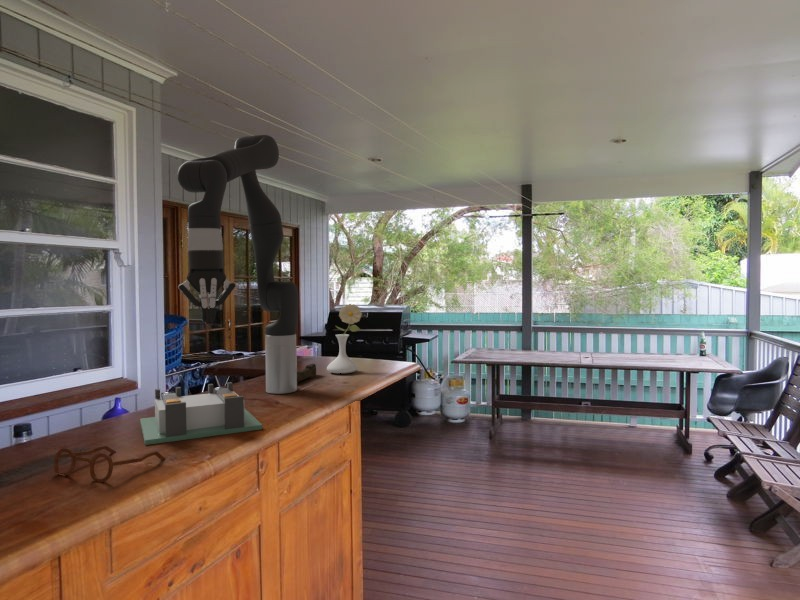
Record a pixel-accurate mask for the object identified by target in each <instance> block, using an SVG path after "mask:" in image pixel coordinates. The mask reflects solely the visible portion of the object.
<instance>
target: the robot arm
mask: <svg viewBox="0 0 800 600" xmlns="http://www.w3.org/2000/svg"><path fill="white" fill-rule="evenodd" d="M279 158H280V150H279V147H278V144H277V142H276V139H275V138H273V136H271V135H268V134H256V135H247V136H246V135H245V136H241V137H237V138H236V140H235V142H234V148H233V149H227V150H223V151H220V152H218V153H215V154H213V155H211V156H207V157H200V158H195V159H191V160H187V161H185V162H183V163H182V164H181V165H180V166H179V167H178V171H177V175H176V176H177V177H176V178H177V182H178V184H179V185H180V186H181V188H182V189H183V190H185V191H186V192H189V193H196V194H197V193H204V195H203V197H202V198H201V200H199V201H196V202H192V203H191V204H189V205H188V207H187V224H188V225H187V227H188V230H187V231H188V232H187V253H188V255H187V256H188V257H187V258H188V274H187V276H186V280H185V281H183V282H182V283H180V284H178V286H177V288H178V290H179V291H180V292H181V293H182V294H183V295H184V297H186V299H188V301H189V302H190V303H191V304H192V305H193V306H195V307H199V308H200V313H201V315H200V316H201V321H202V322H203V323H204V324H205V325H213V322H215V321H216V307H218V306H220V305H223V304H224V302H226V300H227V298H228V297H229V296H230V294H231V293H232V292H233V290H234V289H235V288H236V284H235V282H231V281H230V280H229V279H227V275H226V273H225V270H224V269H225V268H224V244H223V235H222V230H221V229H222V228H221V227H222V226H221V225H222V223H221V222H222V221H221V210H222V205H223V200H224V197H225V193H226V192H225V191H226V188H227V183H229V182H231V181H233V180H235V179H237V178H240V182H241V185H242V190H243V194H244V199H245V206H246V210H247V211H246V212H247V219H248V227H249V231H250V237H251V243H252V247H253V253H254V254H253V255H254V260H255V262H254V263H255V268H256V269H255V272H256V284H257V285H256V288H257V296H258V300H259V305H260V308H262V310H263V311H265V312H269V313H274V312H275V313H279V316H278V319H276V320H275V321H274V322H272V323H269V324H267V325H266V326H265V328H264V340H265V341H264V343H265V345H264V347H265V349H264V350H265V355H264V356H265V392H266V393H268V394H278V395H279V394H290V393H295V392H296V391H297V390H298V383H297V372H298V367H297V366H298V365H297V364H298V362H297V361H298V360H297V358H298V357H297V327H298V322H299V290H298V287H297V284H295V282H293V281H289V280H288V281H287V280H284V281H282V280H278V281H276V280H275V276H274V274H275V273H274V264H275V262H276V257H277V256H278V253H279V251H280V248H281V246H282V245H283V244H282V243H283V240H284V229H283V222H282V215H281V214H280V212H279V210H278V209H277V207H276V205H275V204H274V202H273V201H271V199H270V198H269V197H268V196H267V193H266V192H264V189H262V186H261V185H260V182H259V179H258V176H257V172H256V170H267V169H272V168H274V167H275V166H276V165H277V164H278V162H279ZM222 286H223V289H224V290H222V292H221V293H220V295H219V296H218V298H217V292H218V291H219V290H220V288H221V287H222ZM191 287H192V288H193V289H194V291H195V292H197V293H198V297H199V300H198V299H197V298H196V297H195V296H194V294H192V292H191V291H190V290H191ZM207 298H208V299H207ZM216 298H217V299H216Z"/></svg>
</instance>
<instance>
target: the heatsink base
mask: <svg viewBox="0 0 800 600" xmlns="http://www.w3.org/2000/svg"><path fill="white" fill-rule="evenodd" d="M226 385H227V386H226V387H227V388H228V389H229V390H230V391H231V392H233V393H235V394H236V395H237V397H227V398H224V401H223V400H222V399H221V398H220V397H219V396H218V395H217V394H216V393H214V384H213V383H207V393H203V394H201V393H200V394H191V395H183V396H182V387H181V386H176V387H175V393H176V395H177V396H178V398H179V399H180V400H181V402H179V403H170V404H164V402H163V400H162V398H161V388H154V416H152V417H143V418H140V419H139V420H140V421H139V423H140V428H141V432H142V436H143V438H142V439H143V441H144V445H145V446H148V445H154V444H155V445H156V444H162V443H169V442H170V443H171V442H178V441H185V440H193V439H194V440H195V439H201V438H206V437H214V436H221V435H223V436H224V435H228V434H237V433H245V432H252V431H259V430H263V424H262V423H261V422H260V421H259V420H258V419H256V417H255V416H254V415H253V414H252V413H251V412H250V411H248V410H247V409H246V402H245V399H244V398H245V397H244V396H243V395H239V394H238V393H236V391H234V389H233V388H234V386H233V382H231V381H230V382H229V381H228V382H226Z"/></svg>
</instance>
